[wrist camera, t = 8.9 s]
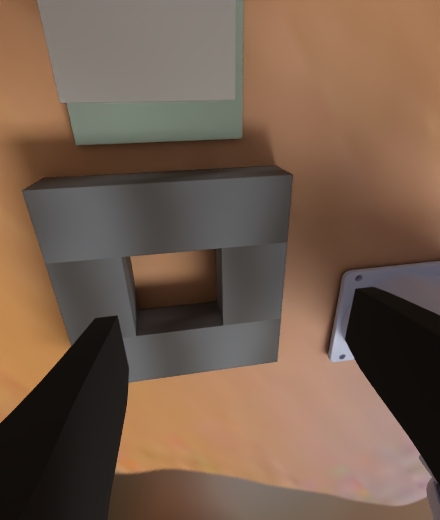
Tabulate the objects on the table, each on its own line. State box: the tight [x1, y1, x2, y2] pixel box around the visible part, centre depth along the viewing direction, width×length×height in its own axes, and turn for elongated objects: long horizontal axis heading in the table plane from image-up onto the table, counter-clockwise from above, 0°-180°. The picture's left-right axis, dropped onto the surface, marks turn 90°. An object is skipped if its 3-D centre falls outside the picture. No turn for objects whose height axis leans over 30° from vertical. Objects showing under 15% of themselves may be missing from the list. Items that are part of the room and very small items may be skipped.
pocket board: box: [22, 166, 293, 383], centre depth 18 cm, size 12×12×2 cm
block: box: [37, 0, 236, 103], centre depth 10 cm, size 4×4×8 cm
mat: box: [66, 0, 244, 145], centre depth 13 cm, size 8×8×1 cm
